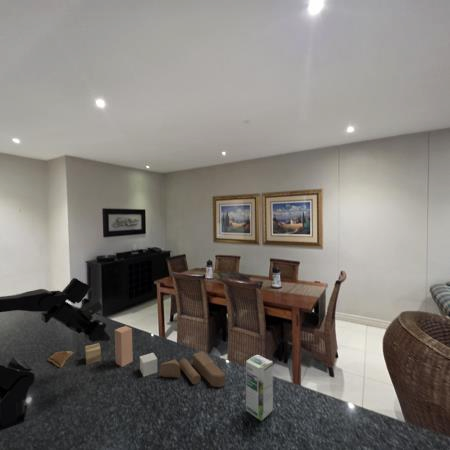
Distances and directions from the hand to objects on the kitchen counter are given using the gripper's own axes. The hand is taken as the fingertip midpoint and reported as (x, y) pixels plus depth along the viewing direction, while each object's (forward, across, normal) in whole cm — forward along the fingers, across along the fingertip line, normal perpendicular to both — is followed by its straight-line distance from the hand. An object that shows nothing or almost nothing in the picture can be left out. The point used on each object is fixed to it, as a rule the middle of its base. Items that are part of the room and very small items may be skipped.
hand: (102, 335), depth 90 cm
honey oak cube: (+11, +12, +8) cm, 18 cm away
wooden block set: (+21, -29, -1) cm, 36 cm away
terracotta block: (+15, 0, +4) cm, 16 cm away
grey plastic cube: (+17, -13, +2) cm, 21 cm away
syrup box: (+22, -55, -2) cm, 59 cm away
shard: (+7, +22, +14) cm, 27 cm away
